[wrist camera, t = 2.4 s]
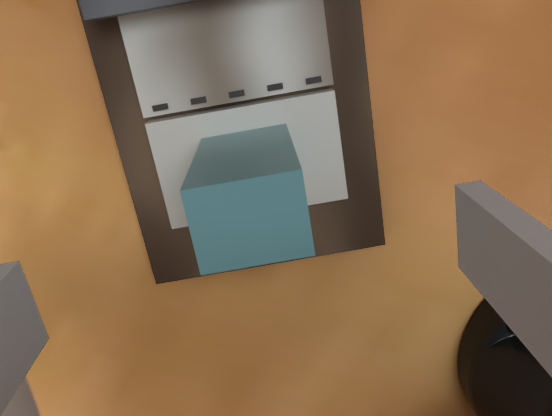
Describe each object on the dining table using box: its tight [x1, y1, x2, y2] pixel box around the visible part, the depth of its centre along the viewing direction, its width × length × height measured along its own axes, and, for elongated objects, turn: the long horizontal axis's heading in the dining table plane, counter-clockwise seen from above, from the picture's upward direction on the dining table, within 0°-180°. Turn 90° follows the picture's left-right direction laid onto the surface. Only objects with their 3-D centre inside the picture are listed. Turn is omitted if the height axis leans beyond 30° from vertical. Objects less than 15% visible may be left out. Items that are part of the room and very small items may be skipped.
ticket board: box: [76, 0, 385, 284], centre depth 27 cm, size 14×20×4 cm
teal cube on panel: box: [145, 88, 348, 275], centre depth 24 cm, size 10×6×10 cm, turn 99°
